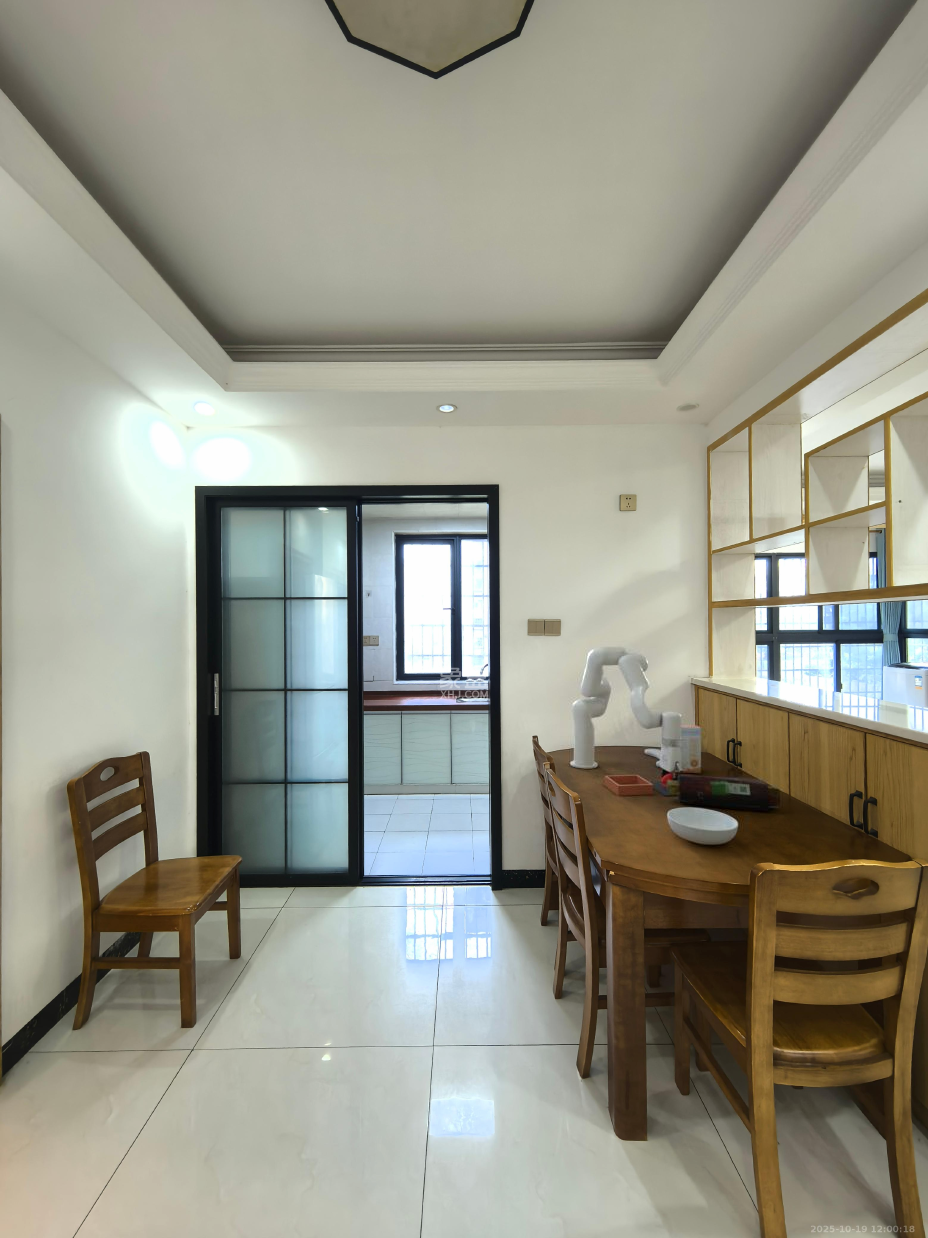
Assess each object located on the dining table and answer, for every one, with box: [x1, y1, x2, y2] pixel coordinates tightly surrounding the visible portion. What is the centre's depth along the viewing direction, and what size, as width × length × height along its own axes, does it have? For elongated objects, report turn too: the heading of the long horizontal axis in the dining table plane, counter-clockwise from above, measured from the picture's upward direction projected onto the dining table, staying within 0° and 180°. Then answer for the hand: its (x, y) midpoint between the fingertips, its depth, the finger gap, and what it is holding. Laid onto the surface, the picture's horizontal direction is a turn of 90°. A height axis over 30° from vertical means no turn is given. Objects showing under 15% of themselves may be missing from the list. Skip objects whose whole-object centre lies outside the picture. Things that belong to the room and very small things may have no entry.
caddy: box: [603, 774, 654, 797], centre depth 241 cm, size 15×15×4 cm
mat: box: [649, 781, 677, 797], centre depth 242 cm, size 18×14×1 cm
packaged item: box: [666, 774, 781, 813], centre depth 222 cm, size 39×10×10 cm, turn 76°
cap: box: [660, 772, 677, 788], centre depth 242 cm, size 8×6×6 cm
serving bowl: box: [666, 806, 739, 846], centre depth 187 cm, size 21×21×7 cm
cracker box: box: [669, 724, 702, 774], centre depth 270 cm, size 14×6×21 cm, turn 84°
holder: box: [644, 748, 661, 769], centre depth 290 cm, size 19×34×5 cm, turn 175°
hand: (670, 784), depth 242 cm, fingers open, 8 cm apart
